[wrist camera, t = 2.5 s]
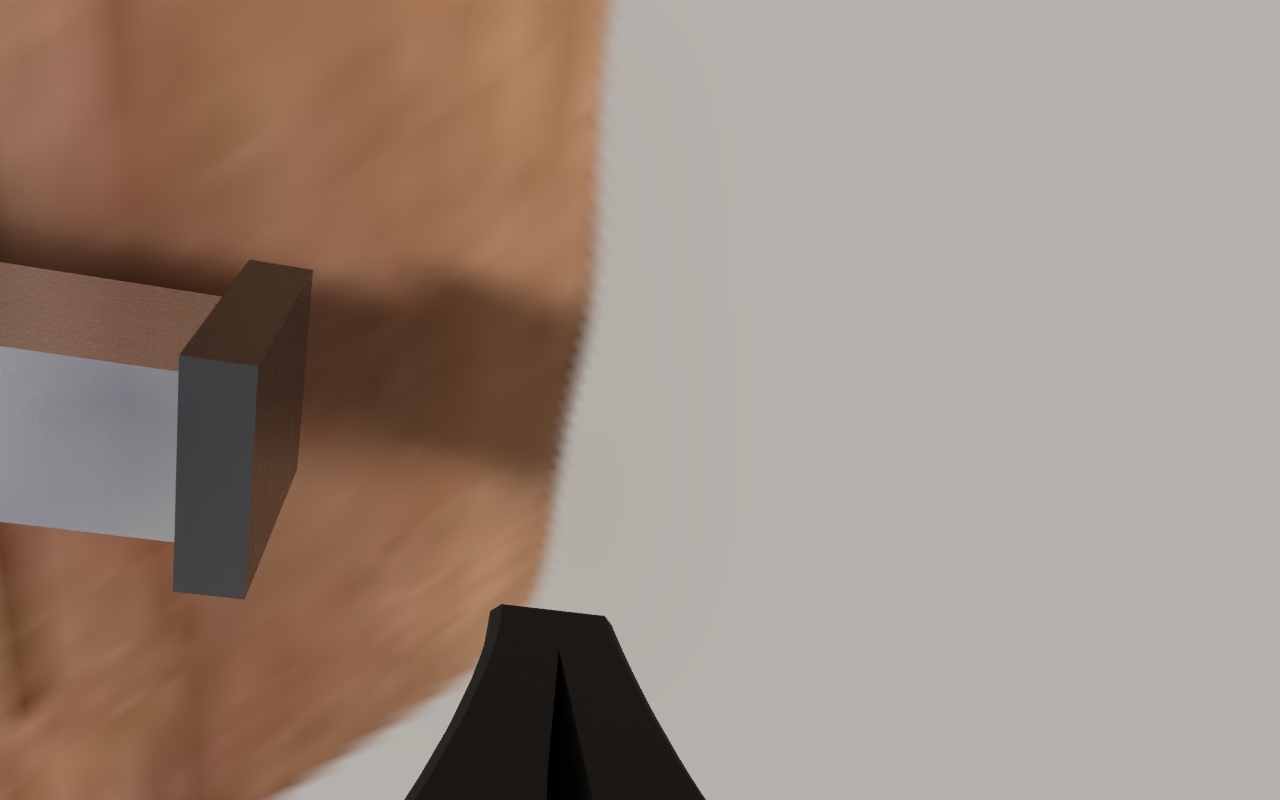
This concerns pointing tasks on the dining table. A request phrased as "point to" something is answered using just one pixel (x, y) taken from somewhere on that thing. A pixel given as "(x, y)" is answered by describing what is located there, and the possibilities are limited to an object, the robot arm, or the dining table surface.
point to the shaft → (154, 412)
